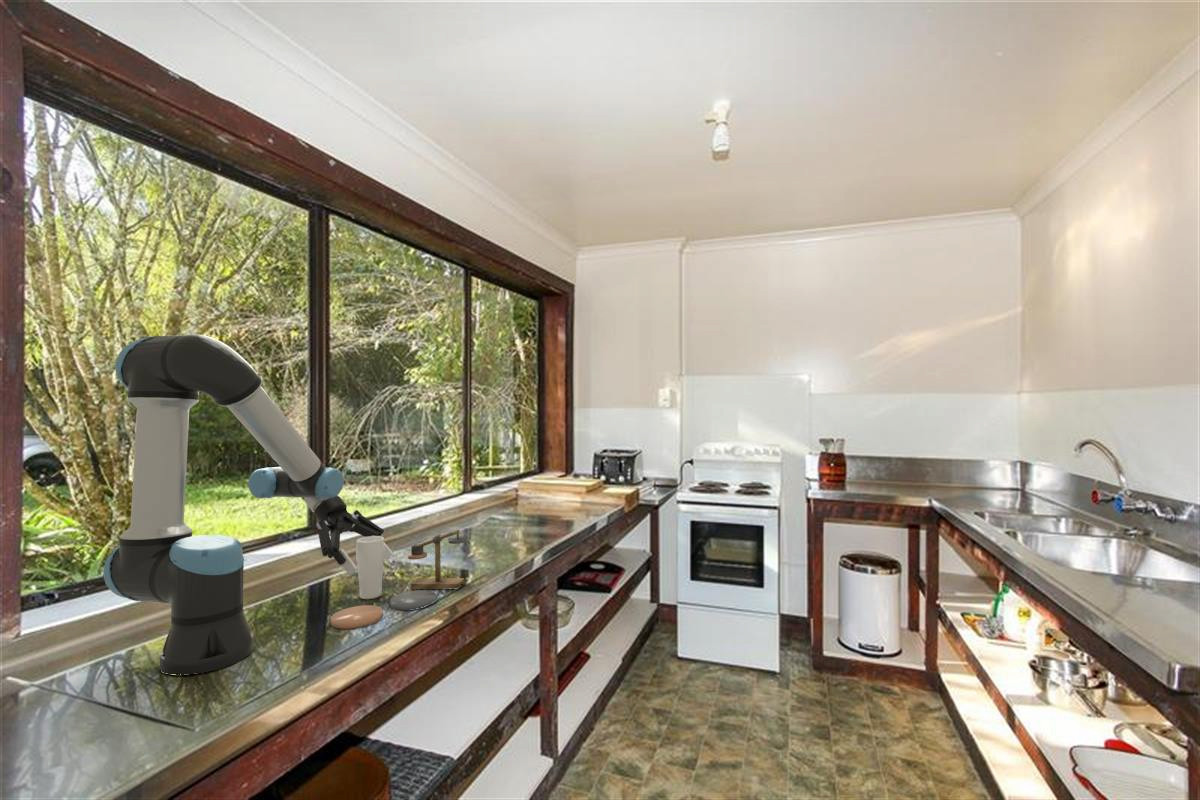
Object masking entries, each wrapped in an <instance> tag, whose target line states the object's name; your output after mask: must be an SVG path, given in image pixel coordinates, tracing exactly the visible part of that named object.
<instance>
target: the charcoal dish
mask: <svg viewBox="0 0 1200 800" xmlns="http://www.w3.org/2000/svg"><path fill="white" fill-rule="evenodd" d="M435 600H436V601H437V593H436V592H434V591H433V590H432V591H431V590H410V591H404V592H401V593H399V594H396V595H394V596H392V597H391V598H390V600H389V604H390V605H389V606H390V608H391V609H393V610H396V611H402V610H408V611H411V610H410V609H416V608H421V607H424V606H426V605H429V604H431V603H432V602H434V601H435Z"/></svg>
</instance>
